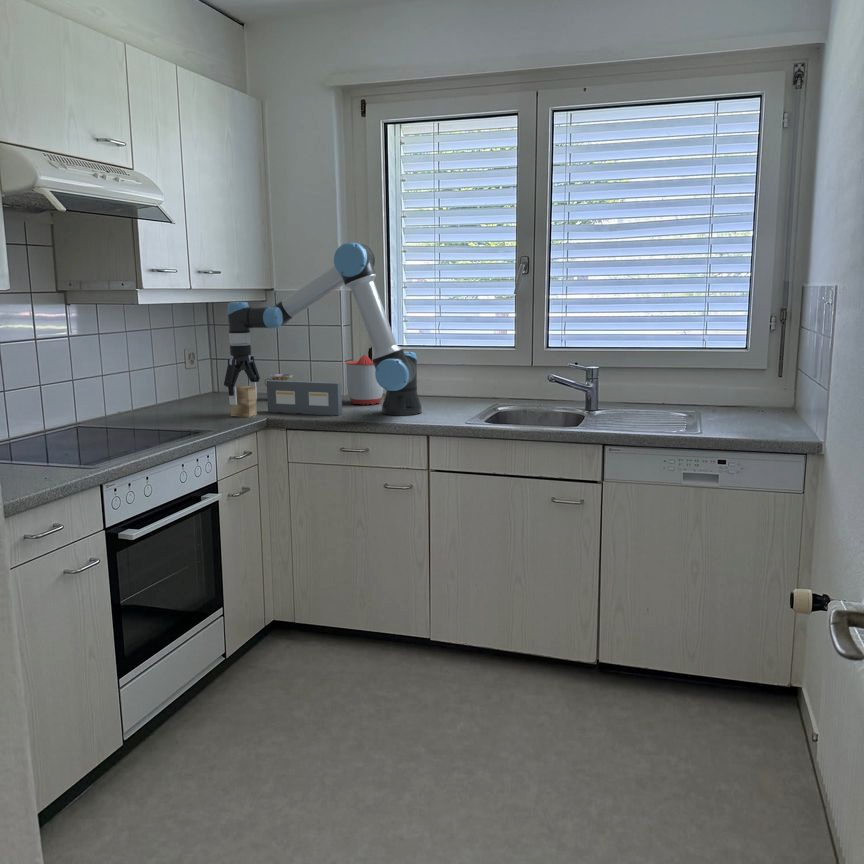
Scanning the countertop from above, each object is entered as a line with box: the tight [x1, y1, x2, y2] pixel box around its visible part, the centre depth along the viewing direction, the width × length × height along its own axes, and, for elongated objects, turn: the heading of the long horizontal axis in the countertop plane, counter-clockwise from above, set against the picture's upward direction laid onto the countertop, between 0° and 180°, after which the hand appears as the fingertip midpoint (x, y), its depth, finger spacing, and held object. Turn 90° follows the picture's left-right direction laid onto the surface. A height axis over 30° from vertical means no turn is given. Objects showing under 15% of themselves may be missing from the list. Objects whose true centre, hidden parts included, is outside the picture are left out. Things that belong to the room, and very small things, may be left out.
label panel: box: [266, 379, 343, 417], centre depth 295 cm, size 30×4×12 cm, turn 71°
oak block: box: [229, 385, 258, 418], centre depth 290 cm, size 8×5×11 cm, turn 71°
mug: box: [264, 373, 294, 388], centre depth 330 cm, size 12×9×11 cm
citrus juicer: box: [345, 354, 385, 406], centre depth 318 cm, size 16×17×20 cm
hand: (243, 401), depth 290 cm, fingers open, 13 cm apart
